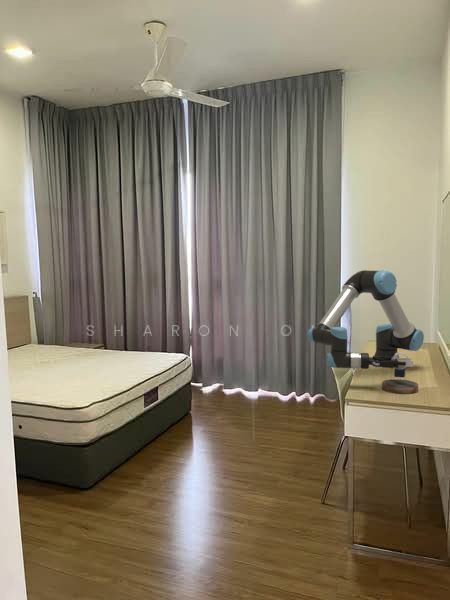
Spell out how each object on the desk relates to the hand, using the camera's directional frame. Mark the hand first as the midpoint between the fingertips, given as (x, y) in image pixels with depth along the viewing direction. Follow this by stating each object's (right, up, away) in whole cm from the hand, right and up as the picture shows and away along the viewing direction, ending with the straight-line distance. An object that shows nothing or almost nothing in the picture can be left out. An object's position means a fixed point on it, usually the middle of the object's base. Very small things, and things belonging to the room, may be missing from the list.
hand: (412, 362), depth 222 cm
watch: (-5, -7, +2) cm, 9 cm away
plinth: (-5, -13, +2) cm, 14 cm away
